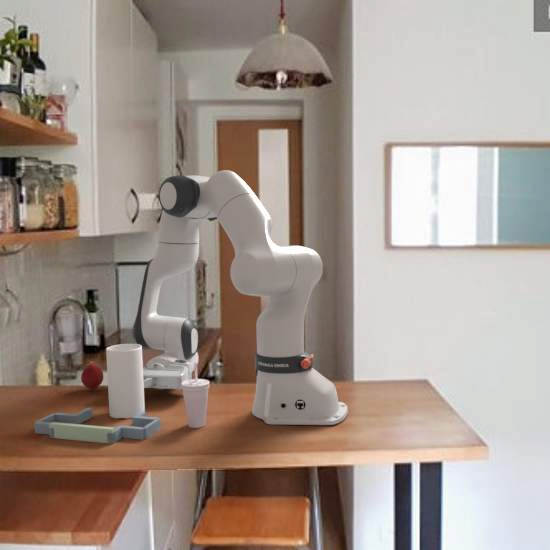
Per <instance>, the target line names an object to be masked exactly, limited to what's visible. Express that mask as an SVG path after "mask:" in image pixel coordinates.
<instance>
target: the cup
mask: <svg viewBox="0 0 550 550" xmlns="http://www.w3.org/2000/svg"><path fill="white" fill-rule="evenodd" d="M105 352H106V368H107V369H106V374H107V388H108V389H107V391H108V392H107V394H108V410H109V412H108V413H109V414H110V415H109V416H110V417H111V418H114V419H118V418H125V419H132V417H134V416H136V415H137V414H139V413H140V412H146V407H145V405H146V403H145V388H144V381H143V367H144V363H143V349H142V346H141V345H139V344H137V343H121V344H114V345H110V346H108V347H106V348H105Z"/></svg>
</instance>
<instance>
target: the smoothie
mask: <svg viewBox="0 0 550 550" xmlns="http://www.w3.org/2000/svg"><path fill="white" fill-rule="evenodd" d="M194 365H195V369H194V378H191V380H186V381H183V382H182V383H181V389H180V390H182V396H183V401H184V405H185V406H184V407H185V411H186V412H185V414H186V419H187V424H188V425H187V426H188V427H189V428H192V429H199V428H202V427H205V426H206V422H207V421H206V418H207V408H208V398H209V396H208V395H209V388H210V387H211V386H210V385H211V384H210V380H208V379H205V378H198V364H197V362H195V363H194Z"/></svg>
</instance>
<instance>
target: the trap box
mask: <svg viewBox="0 0 550 550" xmlns="http://www.w3.org/2000/svg"><path fill="white" fill-rule="evenodd" d="M93 410H94V409H93V408H92V407H87V408H84V409H82V410H80V411H79V412H76V413H67V412H55V413H51V414H49V415H46V416H44V417H43V418H40V419H38V420H37V421H34V433H35V434H39V435H48V436H49V439H51V438H52V439H59V440H60V439H61V440H68V441H69V440H71V441H80V442H91V443H100V444H110V445H113V444H115V443H116V442H118V441H120V440H121V439H130V438H131V439H134V440H140V441H141V440H147V439H149V438H150V437H152V436H153V435H154V434H156V433H157V432H159V431H160V430H161V429H162V419H161V417H156V416H153V417H152V416H147V412H146V411H145V412H140V413H139V414H137V415H136V416H134V417H132V418H131V421H132V425H121V424H120V425H117V426H116V427H111V426H100V425H89V424H88V425H87V424H82V422H83V423H84V421H85V422H86V420H87V421H88V419H89V420H91V419H92V418H93V417H94V413H93V412H94V411H93ZM91 417H92V418H91ZM122 437H123V438H122Z"/></svg>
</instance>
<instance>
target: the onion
mask: <svg viewBox="0 0 550 550" xmlns="http://www.w3.org/2000/svg"><path fill="white" fill-rule="evenodd" d="M80 379H81V383H82V385H83V387H85V388H86V389H87V390H90V391H93V392H94V391H95V390H97V388H98V387H99V386H101V384H102V383H103V381H104V372H103V370H102V369H101V368H100V367H99V366H97V365H95V362H94V361H90V362H89V363H88V365H87V366H86V367H85V368H84V369H83V371H82V372H81V374H80Z"/></svg>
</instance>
